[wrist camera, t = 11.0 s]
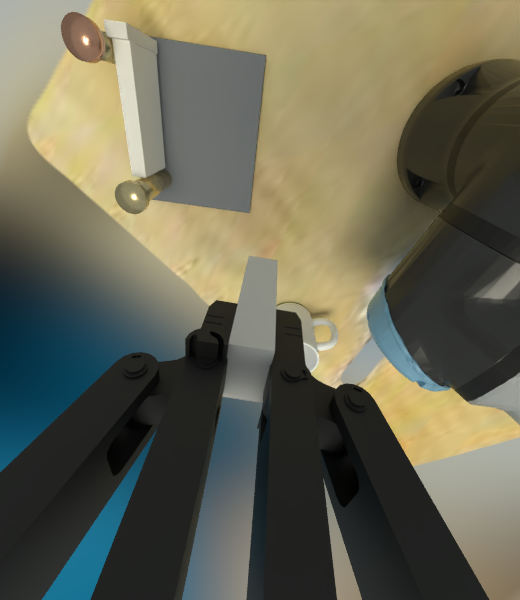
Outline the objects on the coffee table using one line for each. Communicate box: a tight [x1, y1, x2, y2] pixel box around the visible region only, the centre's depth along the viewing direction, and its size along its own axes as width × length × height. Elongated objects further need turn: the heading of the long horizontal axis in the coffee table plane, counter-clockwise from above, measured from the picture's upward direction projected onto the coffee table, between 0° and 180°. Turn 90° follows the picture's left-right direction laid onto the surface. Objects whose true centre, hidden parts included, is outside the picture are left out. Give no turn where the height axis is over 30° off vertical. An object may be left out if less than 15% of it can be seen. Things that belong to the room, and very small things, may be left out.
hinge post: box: [115, 169, 172, 214], centre depth 33 cm, size 3×3×11 cm
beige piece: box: [103, 19, 165, 178], centre depth 29 cm, size 12×2×7 cm, turn 174°
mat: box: [141, 36, 266, 213], centre depth 34 cm, size 15×17×1 cm
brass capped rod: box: [61, 12, 116, 64], centre depth 26 cm, size 3×3×11 cm
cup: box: [276, 303, 338, 373], centre depth 46 cm, size 8×12×10 cm
